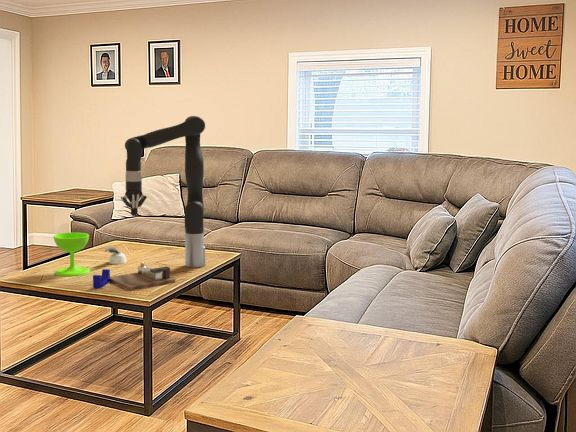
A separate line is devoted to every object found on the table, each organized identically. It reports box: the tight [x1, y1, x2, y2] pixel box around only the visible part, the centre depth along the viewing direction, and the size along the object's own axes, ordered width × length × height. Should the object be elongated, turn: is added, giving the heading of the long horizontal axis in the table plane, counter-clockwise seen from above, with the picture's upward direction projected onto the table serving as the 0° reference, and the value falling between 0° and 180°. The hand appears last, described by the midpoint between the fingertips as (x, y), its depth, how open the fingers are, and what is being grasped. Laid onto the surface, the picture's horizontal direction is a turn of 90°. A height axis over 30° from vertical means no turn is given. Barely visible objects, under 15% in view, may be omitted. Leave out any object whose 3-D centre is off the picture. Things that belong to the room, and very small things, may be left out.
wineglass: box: [53, 232, 91, 278], centre depth 299 cm, size 16×16×18 cm
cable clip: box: [92, 268, 111, 290], centre depth 279 cm, size 12×4×6 cm, turn 175°
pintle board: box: [109, 266, 176, 291], centre depth 286 cm, size 23×21×6 cm
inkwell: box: [104, 245, 128, 265], centre depth 318 cm, size 9×18×10 cm, turn 172°
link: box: [137, 261, 163, 280], centre depth 290 cm, size 18×4×5 cm, turn 40°
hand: (134, 215), depth 303 cm, fingers closed
